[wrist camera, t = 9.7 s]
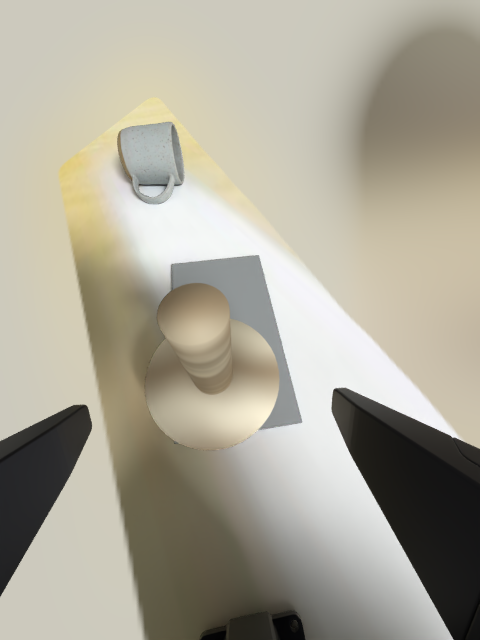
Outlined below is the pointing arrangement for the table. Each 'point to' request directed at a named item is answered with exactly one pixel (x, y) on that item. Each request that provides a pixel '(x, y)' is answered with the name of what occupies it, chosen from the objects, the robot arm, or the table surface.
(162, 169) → the ceramic mug
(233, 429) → the birch lid
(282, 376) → the slate mat
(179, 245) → the table surface
